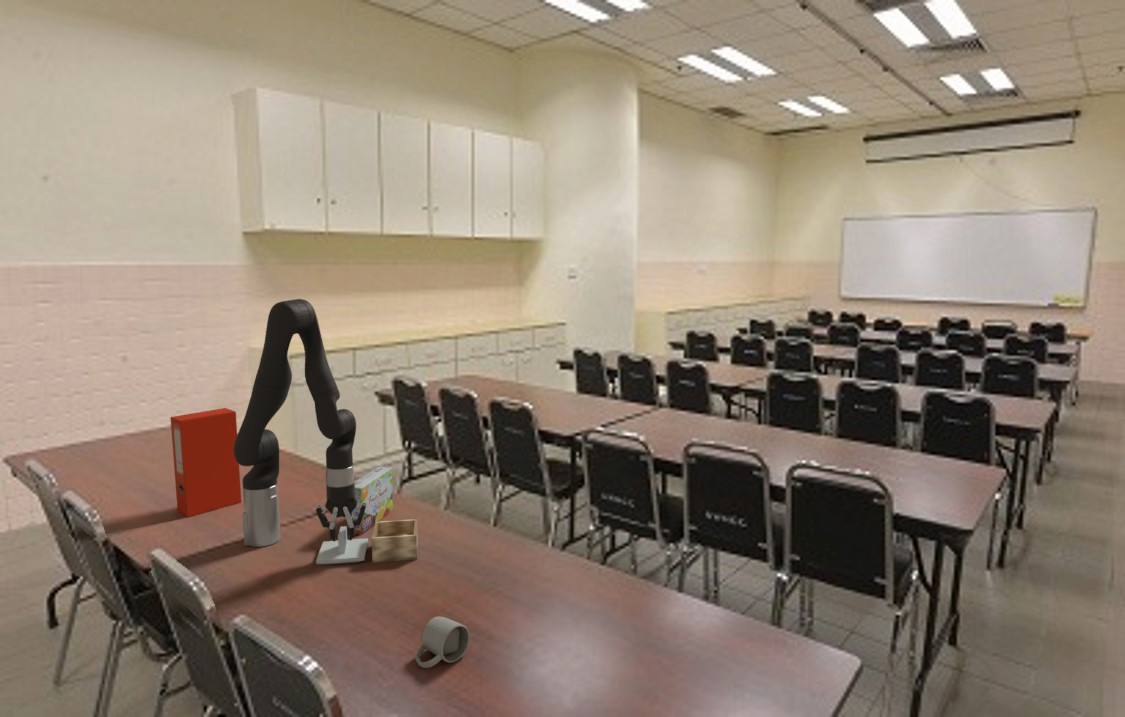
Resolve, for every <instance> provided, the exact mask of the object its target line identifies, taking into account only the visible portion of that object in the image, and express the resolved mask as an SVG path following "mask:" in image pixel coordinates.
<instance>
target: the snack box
mask: <svg viewBox="0 0 1125 717" xmlns="http://www.w3.org/2000/svg"><path fill="white" fill-rule="evenodd" d="M354 481H355V499H356V500H357V502H358V503H361V504H363V503H366V509H365V512H364V515H363V518H362V521H361V523H360V525H359V526H355V535H359V536H361V535H363V534H364V533H365V532H367V531H368V530H370V529H371V528H372V527H373V526H375V522H379V521H382V519H383V518H384V517H386V516H387V515H388V514H390V513H391V512H392V511H393V508H394V506H393V502H394V501H393V467H386V466H377V467H376V468H374V469H373V470H371V471H369V472H368V473H366V474H364V475H363V476H362V477H360V478H359V479H356V480H354ZM352 514H353V518H354V520H357V518H358V515H359V511H358V508H357V507H355V509H354V510H353V511H352ZM346 526H347V534H349V524H348V521H347V520H346Z"/></svg>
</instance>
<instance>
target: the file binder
mask: <svg viewBox="0 0 1125 717" xmlns="http://www.w3.org/2000/svg"><path fill="white" fill-rule="evenodd" d="M169 419H170V429H171V430H170V431H171V441H172V453H173V455H172V456H173V465H174V466H173V467H174V480H175V494H176V506H177V507H176V508H177V512H178V513H180V514H182V515H183V516H185V517H186V518H190V516H191V517H194V516H198V515H201V514H205V513H209V512H212V511H215V509H216V510H218V509H219V508H220V509H222V507H223V508H226V506H227V507H230V506H233V504H234V505H237V504H241V503H242V492H241V491H242V490H241V489H242V488H241V475H240V464H239V463H238V462H237V461H236V459H235V456H234V444H235V440H236V437H237V435H238V426H237V424H238V423H237V412H236V411H235V410H233V409H229V408H226V407H222V408H217V409H210V410H205V411H198V412H194V413H186V414H180V415H175V416H174V415H173V416H170V417H169ZM240 502H241V503H240ZM211 510H212V511H211Z"/></svg>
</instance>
